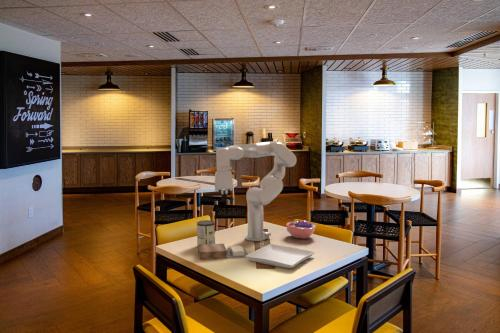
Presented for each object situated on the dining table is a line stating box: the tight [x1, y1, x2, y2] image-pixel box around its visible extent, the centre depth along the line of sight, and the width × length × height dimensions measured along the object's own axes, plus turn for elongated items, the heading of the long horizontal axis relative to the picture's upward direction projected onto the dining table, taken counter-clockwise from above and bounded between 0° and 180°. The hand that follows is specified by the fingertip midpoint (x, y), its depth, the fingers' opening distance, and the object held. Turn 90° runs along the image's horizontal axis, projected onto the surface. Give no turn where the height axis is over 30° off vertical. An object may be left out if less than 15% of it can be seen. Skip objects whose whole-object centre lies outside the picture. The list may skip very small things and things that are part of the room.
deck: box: [197, 243, 228, 261], centre depth 229 cm, size 14×14×4 cm
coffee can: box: [196, 219, 216, 248], centre depth 245 cm, size 10×10×14 cm
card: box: [230, 245, 244, 256], centre depth 231 cm, size 6×9×2 cm, turn 10°
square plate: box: [245, 243, 316, 269], centre depth 222 cm, size 27×27×4 cm
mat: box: [226, 248, 249, 259], centre depth 232 cm, size 11×15×1 cm
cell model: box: [285, 219, 317, 240], centre depth 264 cm, size 17×20×11 cm
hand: (224, 200), depth 248 cm, fingers closed
